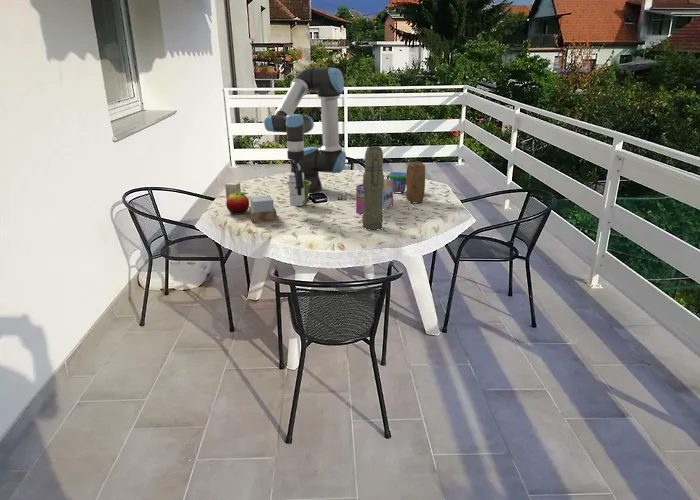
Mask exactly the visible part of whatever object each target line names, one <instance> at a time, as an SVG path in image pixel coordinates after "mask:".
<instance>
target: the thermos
mask: <svg viewBox="0 0 700 500" xmlns="http://www.w3.org/2000/svg"><path fill="white" fill-rule="evenodd" d="M383 165H384V152H383V149H382V147H380V146H377V145H375V146H374V145H371V146H368V147H366V150H365V153H364V166H365V167H364V173H363V176H362V184H363V189H364V210H363V215H362V218H361V219H362V220H361V222H362V228H363V227H364V228H366V229H370V230H369V231H378V230H377V229H380V230H382V229H383V223H384V212H383V210H382V190H383V188H384V179H385V174H384V171H383V170H384V169H383ZM364 228H363V229H364ZM381 228H382V229H381ZM366 229H365V230H366Z"/></svg>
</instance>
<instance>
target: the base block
mask: <svg viewBox="0 0 700 500" xmlns="http://www.w3.org/2000/svg"><path fill="white" fill-rule="evenodd" d="M248 211H249V218H250V220H251V223H252V224H259V223H271V222H272V223H273V221H274V222H277V221H278V220H277V219H278V216H277V214H278V213H277V210H276V208H275V207H274V211H267V212H256V213H254V212H253V210H252V209H251V206H249V208H248Z"/></svg>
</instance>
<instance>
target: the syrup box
mask: <svg viewBox="0 0 700 500" xmlns="http://www.w3.org/2000/svg"><path fill="white" fill-rule="evenodd" d="M302 180H303V188H302V202H296V189H295V187H296V180H295V174H294V173H293V172H292V173H291V172H290V174H288V182H289V185H288V190H289V203H290V205H291V206H295V205H296V207H299V206H300V207H303V206H302V205H303V204H304V203H305V184H304V173H303V172H302Z"/></svg>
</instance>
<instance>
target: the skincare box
mask: <svg viewBox="0 0 700 500" xmlns="http://www.w3.org/2000/svg"><path fill="white" fill-rule="evenodd" d="M224 189H225V197H226V199H225V200H227V198H228V197H229V195H230V194H233V193H236V192H238V193H241V192H242V190H241V183H240V182H230V181H229V182H227V183H225V184H224Z"/></svg>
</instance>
